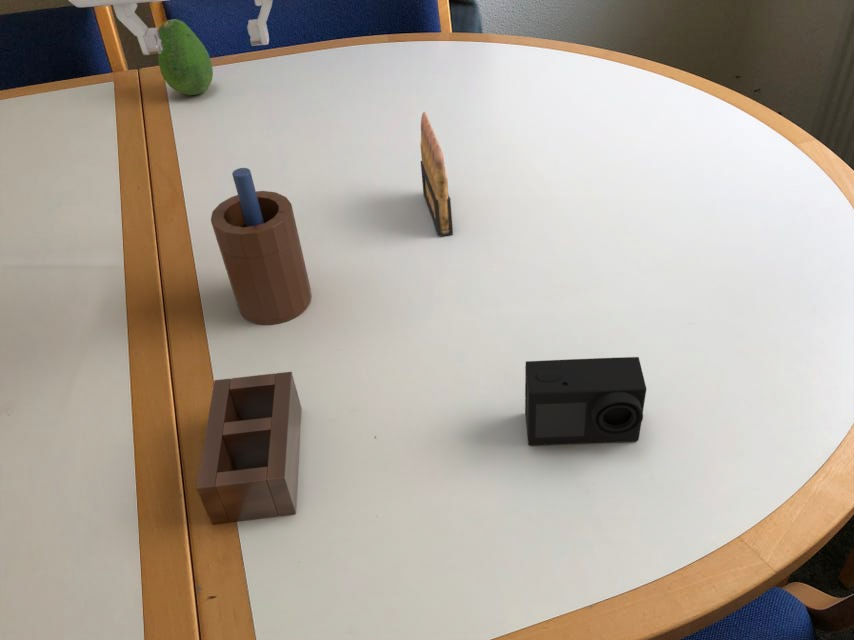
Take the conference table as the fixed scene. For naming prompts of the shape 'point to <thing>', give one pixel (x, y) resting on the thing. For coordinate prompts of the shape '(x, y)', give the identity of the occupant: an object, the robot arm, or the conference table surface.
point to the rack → (251, 449)
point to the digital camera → (584, 400)
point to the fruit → (184, 59)
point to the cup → (263, 259)
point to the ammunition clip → (435, 180)
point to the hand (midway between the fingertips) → (207, 47)
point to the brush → (247, 197)
